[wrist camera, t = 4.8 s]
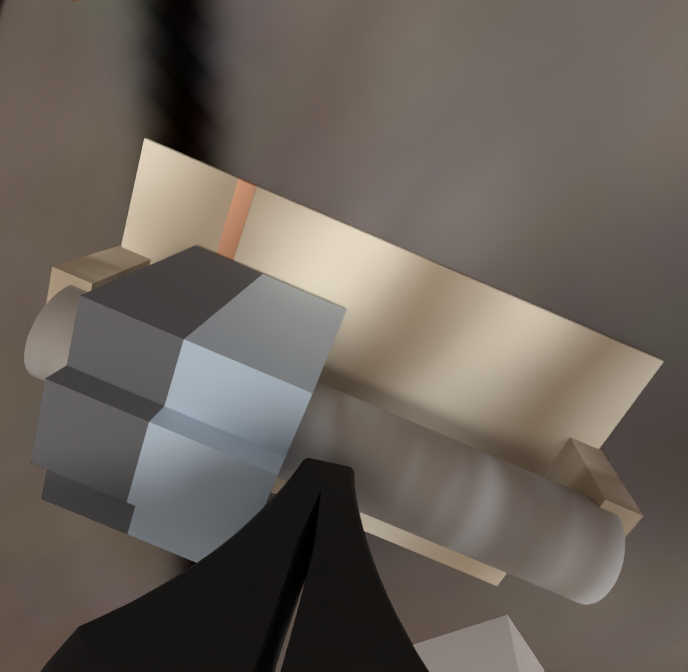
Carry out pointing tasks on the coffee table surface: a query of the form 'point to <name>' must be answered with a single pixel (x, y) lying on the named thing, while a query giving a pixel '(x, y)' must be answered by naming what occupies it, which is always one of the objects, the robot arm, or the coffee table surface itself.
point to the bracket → (479, 650)
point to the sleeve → (230, 417)
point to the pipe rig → (409, 381)
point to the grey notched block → (123, 377)
